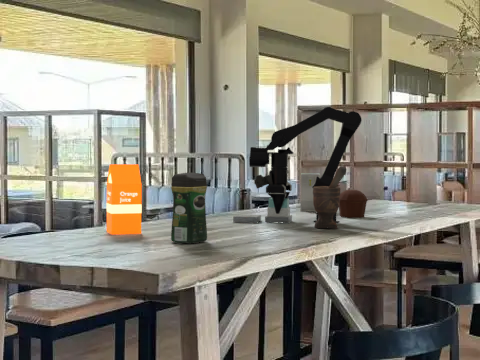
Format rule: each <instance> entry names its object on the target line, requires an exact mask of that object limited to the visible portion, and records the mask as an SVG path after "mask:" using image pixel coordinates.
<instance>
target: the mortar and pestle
mask: <svg viewBox="0 0 480 360" xmlns="http://www.w3.org/2000/svg"><path fill="white" fill-rule="evenodd" d="M346 173H347V168H346V167H345V166H343V165H340V166H338V168H337V170H336V172H335V175H334V177H333V180H332V182H331V184H330V186H329V187H328V186H316V187H313V204H314V208H315V211H316V212H317V214H318V215H319V219H318V221H316V220H315V221H316V222H314V225H313V227H314V229H326V230H327V229H333V230H336V229H338V224H337V223H336V222H335V221H334V220H333V215H334V214H335V213H336V214H337V212H339V204H340V194H341V187H339V186H338V185H339V183H340V182H341V180H342V179H343V178H344V176H345V174H346ZM316 212H315V213H316Z"/></svg>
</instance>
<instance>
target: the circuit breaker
mask: <svg viewBox="0 0 480 360" xmlns="http://www.w3.org/2000/svg"><path fill="white" fill-rule="evenodd" d="M316 176H318V177H321V173H315V172H314V173H312V172H311V173H309V172H301V173H300V203H299V204H300V206H299V208H300V212H306V211H315V208H314V204H313V188H312V185H313V184H314V183H315V179H316Z"/></svg>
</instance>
